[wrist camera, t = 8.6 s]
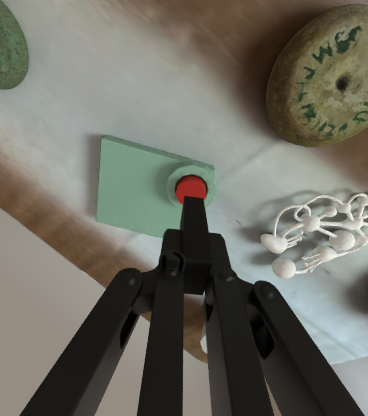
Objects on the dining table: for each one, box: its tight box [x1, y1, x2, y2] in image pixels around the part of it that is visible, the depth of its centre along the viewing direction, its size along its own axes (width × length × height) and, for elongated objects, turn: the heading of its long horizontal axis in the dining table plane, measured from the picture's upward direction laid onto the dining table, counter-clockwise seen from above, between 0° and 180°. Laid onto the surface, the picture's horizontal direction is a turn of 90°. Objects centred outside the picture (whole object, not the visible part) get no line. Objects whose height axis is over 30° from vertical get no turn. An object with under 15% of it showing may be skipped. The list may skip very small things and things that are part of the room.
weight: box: [266, 4, 368, 147], centre depth 22 cm, size 14×13×5 cm
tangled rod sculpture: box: [261, 193, 368, 279], centre depth 33 cm, size 19×14×4 cm
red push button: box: [176, 176, 206, 205], centre depth 28 cm, size 4×4×2 cm
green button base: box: [96, 135, 217, 238], centre depth 31 cm, size 17×14×4 cm
